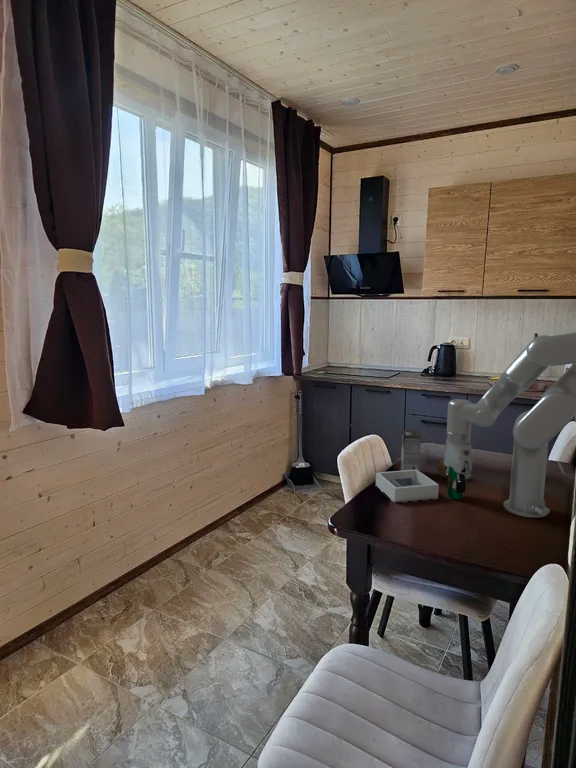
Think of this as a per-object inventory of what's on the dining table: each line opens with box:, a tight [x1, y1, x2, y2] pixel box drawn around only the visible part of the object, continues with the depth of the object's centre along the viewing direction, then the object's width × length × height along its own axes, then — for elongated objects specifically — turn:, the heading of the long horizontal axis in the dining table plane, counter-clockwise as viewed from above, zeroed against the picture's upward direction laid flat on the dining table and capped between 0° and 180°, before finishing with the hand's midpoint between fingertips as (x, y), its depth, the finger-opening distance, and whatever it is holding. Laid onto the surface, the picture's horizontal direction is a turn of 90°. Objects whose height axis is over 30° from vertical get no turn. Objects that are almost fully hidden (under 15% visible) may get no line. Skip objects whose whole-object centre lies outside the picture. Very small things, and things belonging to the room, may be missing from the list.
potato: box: [437, 458, 447, 479], centre depth 182 cm, size 7×8×8 cm
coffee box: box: [400, 429, 422, 472], centre depth 186 cm, size 9×6×16 cm
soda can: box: [446, 465, 464, 501], centre depth 163 cm, size 5×5×12 cm
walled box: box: [375, 470, 440, 503], centre depth 168 cm, size 16×16×5 cm
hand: (455, 489), depth 163 cm, fingers closed on soda can, 5 cm apart
